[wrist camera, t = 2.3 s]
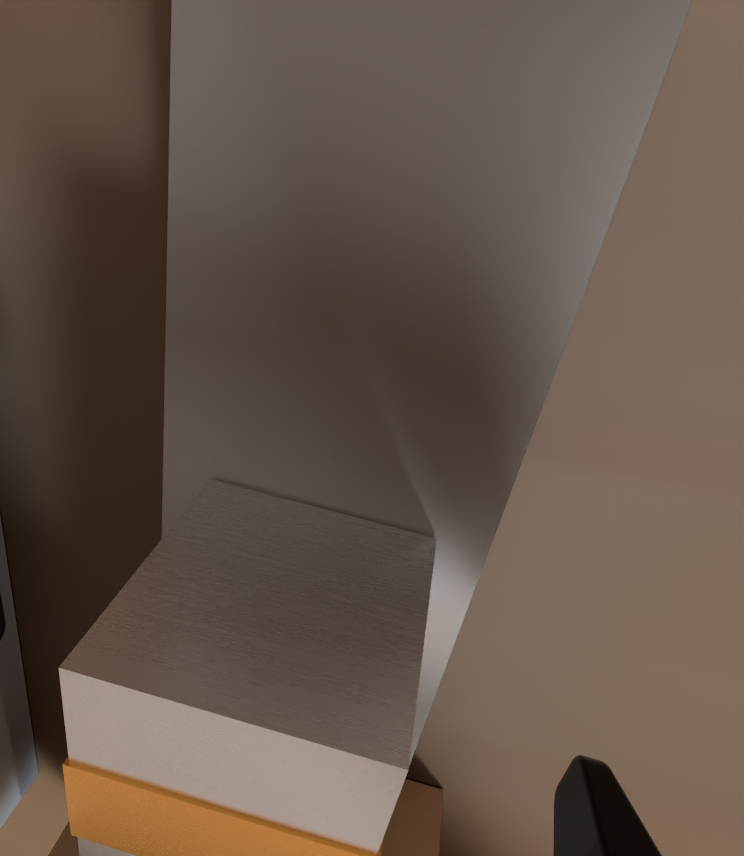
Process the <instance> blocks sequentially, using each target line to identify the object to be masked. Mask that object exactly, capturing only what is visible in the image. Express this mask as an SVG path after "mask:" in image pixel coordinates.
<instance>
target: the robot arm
mask: <svg viewBox="0 0 744 856" xmlns="http://www.w3.org/2000/svg"><path fill="white" fill-rule="evenodd" d="M5 628H6V621H5V614H4V608H3V602H2V596H1V593H0V641H1V639H2V637H3V635H4V632H5ZM554 856H662V855H661V854H660V852H659V850H658V849H657V847H656V845H655V843H654V842H653V840H652V838H651V837H650V835H649V833H648V832H647V830H646V828H645V827H644V825H643V823H642V822H641V820H640V818H639V816H638V815H637V813H636V811H635V810H634V808H633V806H632V805H631V803H630V801H629V800H628V798H627V796H626V794H625V793H624V791H623V789H622V788H621V786H620V784H619V783H618V781H617V779H616V778H615V776H614V774H613V772H612V771H611V769H610V768H609V767H608V765H606V764H605V763H604V762H602V761H600V760H596V759H593V758H589V757H586V756H582V755H578V756H576V757H575V758H574V759H573V760H572V762H571V764H570V765H569V767H568V769H567V771H566V772H565V774H564V776H563V777H562V779H561V781H560V782H559V784H558V786H557V789H556V793H555V800H554Z"/></svg>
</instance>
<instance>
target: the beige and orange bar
mask: <svg viewBox="0 0 744 856" xmlns="http://www.w3.org/2000/svg"><path fill="white" fill-rule="evenodd" d="M436 541H437V539H436V538H433V537H429V536H425V535H421V534H418V533H414V532H410V531H406V530H402V529H399V528H395V527H391V526H387V525H384V524H380V523H376V522H372V521H368V520H365V519H361V518H357V517H353V516H350V515H346V514H342V513H338V512H334V511H331V510H327V509H323V508H319V507H316V506H312V505H308V504H304V503H301V502H297V501H293V500H289V499H285V498H282V497H278V496H274V495H270V494H267V493H263V492H259V491H255V490H251V489H248V488H244V487H240V486H236V485H233V484H229V483H225V482H221V481H217V480H214V479H209V481H208V482H207V483H206V484H205V486H204V487H203V488H202V489H201V491H200V492H199V493H198V494H197V496H196V497H195V498H194V499H193V501H192V502H191V503H190V504H189V505H188V507H187V508H186V509H185V510H184V512H183V513H182V514H181V515H180V517H179V518H178V519H177V520H176V522H175V523H174V524H173V525H172V527H171V528H170V529H169V530H168V532H167V533H166V534H165V535H164V537H163V538H162V539H161V540H160V542H159V543H158V544H157V545H156V547H155V548H154V549H153V550H152V552H151V553H150V554H149V555H148V557H147V558H146V559H145V560H144V562H143V563H142V564H141V565H140V567H139V568H138V569H137V570H136V572H135V573H134V574H133V575H132V577H131V578H130V579H129V580H128V582H127V583H126V584H125V585H124V587H123V588H122V589H121V590H120V592H119V593H118V594H117V595H116V597H115V598H114V599H113V600H112V602H111V603H110V604H109V605H108V607H107V608H106V609H105V610H104V612H103V613H102V614H101V615H100V616H99V618H98V619H97V620H96V621H95V623H94V624H93V625H92V626H91V628H90V629H89V630H88V631H87V633H86V634H85V635H84V636H83V638H82V639H81V640H80V641H79V643H78V644H77V645H76V646H75V648H74V649H73V650H72V651H71V653H70V654H69V655H68V656H67V658H66V659H65V660H64V661H63V663H62V664H61V665H60V666H59V677H60V686H61V695H62V704H63V713H64V721H65V730H66V739H67V748H68V757H67V758H66V760H65V761H64V763H63V764H62V765H63V774H64V782H65V790H66V798H67V807H68V815H69V823H70V831H71V835H72V836H76V837H77V838H78V847H79V856H381V852H382V846H383V839H384V835H385V832H386V829H387V827H388V824H389V821H390V818H391V816H392V813H393V810H394V808H395V805H396V802H397V800H398V797H399V794H400V792H401V789H402V786H403V784H404V781H405V778H406V776H407V773H408V770H409V762H410V754H411V746H412V737H413V729H414V721H415V713H416V705H417V697H418V688H419V680H420V672H421V664H422V656H423V648H424V639H425V631H426V623H427V615H428V607H429V599H430V590H431V582H432V574H433V566H434V558H435V550H436Z"/></svg>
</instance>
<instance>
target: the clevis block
mask: <svg viewBox="0 0 744 856" xmlns="http://www.w3.org/2000/svg"><path fill="white" fill-rule="evenodd" d="M691 3H692V0H172V9H171V63H170V117H169V172H168V226H167V280H166V334H165V388H164V442H163V496H162V538H163V537H164V535H165V534H166V533H167V532H168V530H169V529H170V528H171V527H172V525H173V524H174V523H175V522H176V520H177V519H178V518H179V517H180V515H181V514H182V513H183V512H184V510H185V509H186V508H187V507H188V505H189V504H190V503H191V502H192V501H193V499H194V498H195V497H196V496H197V494H198V493H199V492H200V491H201V489H202V488H203V487H204V486H205V484H206V483H207V482H208V481H209V479H214V480H217V481H221V482H225V483H229V484H233V485H236V486H240V487H244V488H248V489H251V490H255V491H259V492H263V493H267V494H270V495H274V496H278V497H282V498H285V499H289V500H293V501H297V502H301V503H304V504H308V505H312V506H316V507H319V508H323V509H327V510H331V511H334V512H338V513H342V514H346V515H350V516H353V517H357V518H361V519H365V520H368V521H372V522H376V523H380V524H384V525H387V526H391V527H395V528H399V529H402V530H406V531H410V532H414V533H418V534H421V535H425V536H429V537H433V538H436V539H437V541H436V550H435V558H434V566H433V574H432V582H431V590H430V599H429V607H428V615H427V623H426V631H425V639H424V648H423V656H422V664H421V672H420V680H419V688H418V697H417V705H416V713H415V721H414V729H413V737H412V746H411V754H410V762H409V765H410V763H411V760H412V757H413V755H414V752H415V749H416V747H417V744H418V741H419V738H420V736H421V733H422V730H423V728H424V725H425V722H426V719H427V717H428V714H429V711H430V709H431V706H432V703H433V701H434V698H435V695H436V692H437V690H438V687H439V684H440V682H441V679H442V676H443V674H444V671H445V668H446V665H447V663H448V660H449V657H450V655H451V652H452V649H453V646H454V644H455V641H456V638H457V636H458V633H459V630H460V628H461V625H462V622H463V619H464V617H465V614H466V611H467V609H468V606H469V603H470V601H471V598H472V595H473V592H474V590H475V587H476V584H477V582H478V579H479V576H480V573H481V571H482V568H483V565H484V563H485V560H486V557H487V555H488V552H489V549H490V546H491V544H492V541H493V538H494V536H495V533H496V530H497V528H498V525H499V522H500V519H501V517H502V514H503V511H504V509H505V506H506V503H507V500H508V498H509V495H510V492H511V490H512V487H513V484H514V482H515V479H516V476H517V473H518V471H519V468H520V465H521V463H522V460H523V457H524V455H525V452H526V449H527V446H528V444H529V441H530V438H531V436H532V433H533V430H534V427H535V425H536V422H537V419H538V417H539V414H540V411H541V409H542V406H543V403H544V400H545V398H546V395H547V392H548V390H549V387H550V384H551V381H552V379H553V376H554V373H555V371H556V368H557V365H558V363H559V360H560V357H561V354H562V352H563V349H564V346H565V344H566V341H567V338H568V336H569V333H570V330H571V327H572V325H573V322H574V319H575V317H576V314H577V311H578V308H579V306H580V303H581V300H582V298H583V295H584V292H585V290H586V287H587V284H588V281H589V279H590V276H591V273H592V271H593V268H594V265H595V263H596V260H597V257H598V254H599V252H600V249H601V246H602V244H603V241H604V238H605V235H606V233H607V230H608V227H609V225H610V222H611V219H612V217H613V214H614V211H615V208H616V206H617V203H618V200H619V198H620V195H621V192H622V190H623V187H624V184H625V181H626V179H627V176H628V173H629V171H630V168H631V165H632V162H633V160H634V157H635V154H636V152H637V149H638V146H639V144H640V141H641V138H642V135H643V133H644V130H645V127H646V125H647V122H648V119H649V117H650V114H651V111H652V108H653V106H654V103H655V100H656V98H657V95H658V92H659V89H660V87H661V84H662V81H663V79H664V76H665V73H666V71H667V68H668V65H669V62H670V60H671V57H672V54H673V52H674V49H675V46H676V44H677V41H678V38H679V35H680V33H681V30H682V27H683V25H684V22H685V19H686V16H687V14H688V11H689V8H690V6H691ZM442 802H443V790H442V789H438V788H435V787H431V786H428V785H425V784H421V783H418V782H414V781H411V780H408V779H405V781H404V784H403V786H402V789H401V792H400V794H399V797H398V800H397V802H396V805H395V808H394V810H393V813H392V816H391V818H390V821H389V824H388V827H387V829H386V832H385V835H384V839H383V846H382V852H381V856H439V849H440V833H441V818H442ZM48 856H79V847H78V838H77V837H76V836H72V835H71V831H70V823H69V822H68V824H67V825H66V827H65V829H64V830H63V832H62V834H61V835H60V837H59V839H58V840H57V842H56V844H55V845H54V847H53V848H52V850H51V852H50V853H49V855H48Z"/></svg>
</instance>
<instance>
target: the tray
mask: <svg viewBox="0 0 744 856" xmlns="http://www.w3.org/2000/svg"><path fill="white" fill-rule="evenodd" d="M0 593H1V596H2V602H3V608H4V614H5V621H6V628H5V632H4V635H3V637H2V639H1V641H0V828H1V827H2V826H3V824H4V823H5V821H6V820H7V818H8V817H9V816H10V814H11V813H12V811H13V810H14V808H15V807H16V806H17V804H18V803H19V801H20V800H21V799H22V797H23V796H24V794H25V793H26V791H27V790H28V789H29V787H30V786H31V784H32V783H33V781H34V780H35V779H36V777H37V776H38V774H39V772H38V765H37V759H36V752H35V745H34V738H33V732H32V725H31V718H30V712H29V705H28V698H27V691H26V685H25V678H24V671H23V665H22V658H21V651H20V644H19V638H18V631H17V624H16V618H15V611H14V604H13V597H12V591H11V584H10V577H9V571H8V564H7V557H6V550H5V544H4V537H3V530H2V523H1V517H0Z"/></svg>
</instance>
